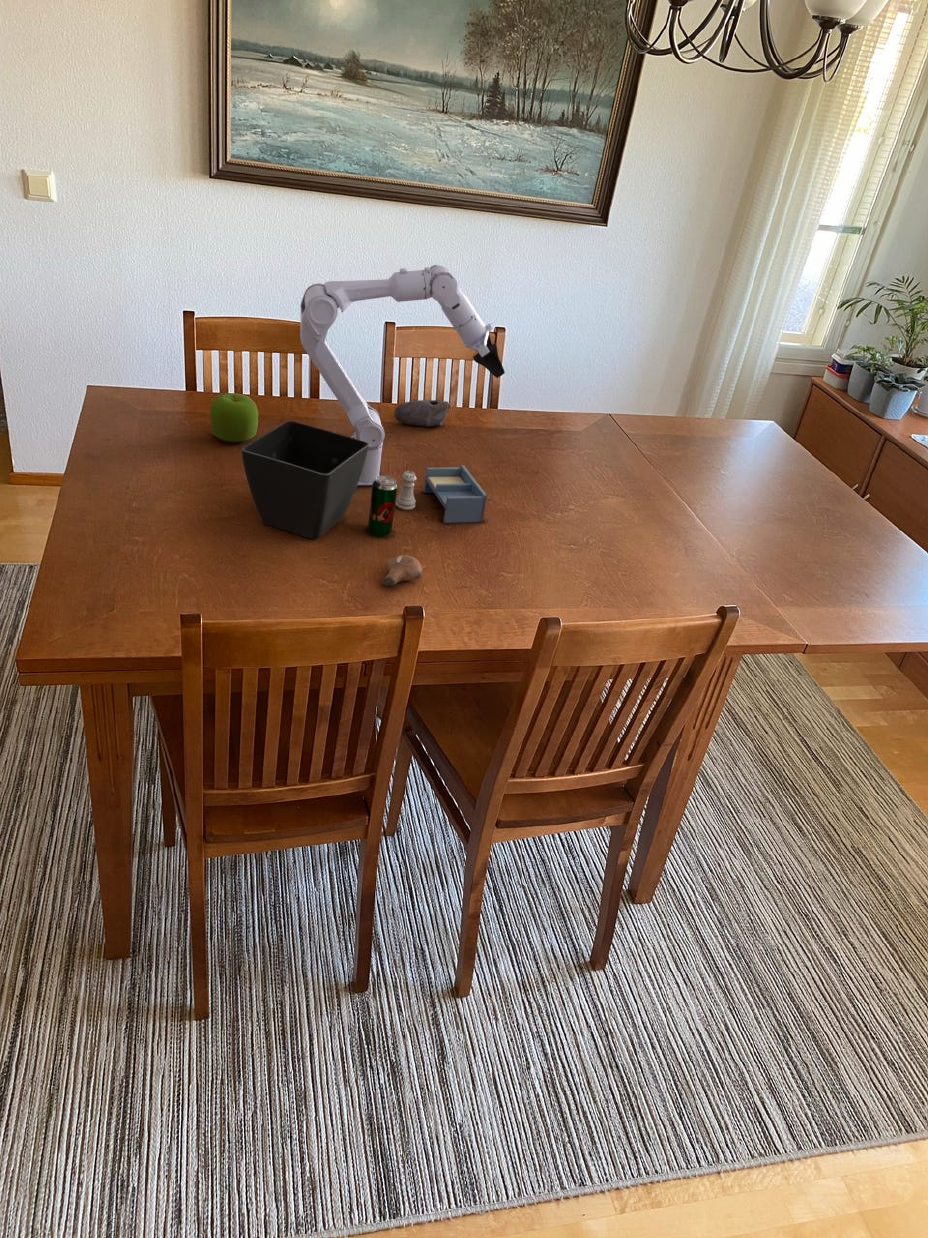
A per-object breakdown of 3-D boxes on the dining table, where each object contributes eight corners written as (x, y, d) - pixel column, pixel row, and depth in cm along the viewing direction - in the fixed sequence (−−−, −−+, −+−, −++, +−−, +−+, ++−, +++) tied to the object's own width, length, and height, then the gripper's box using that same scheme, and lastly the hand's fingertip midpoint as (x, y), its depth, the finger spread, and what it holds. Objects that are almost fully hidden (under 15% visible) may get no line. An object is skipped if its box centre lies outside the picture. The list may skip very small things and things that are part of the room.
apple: (251, 450, 208) (252, 406, 202) (205, 443, 208) (205, 399, 202) (261, 432, 218) (263, 389, 212) (217, 425, 217) (217, 382, 211)
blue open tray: (444, 522, 194) (448, 496, 190) (423, 491, 205) (427, 465, 201) (482, 521, 197) (487, 495, 193) (459, 490, 208) (463, 465, 205)
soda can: (395, 531, 187) (402, 479, 180) (384, 540, 183) (390, 488, 176) (375, 523, 188) (380, 472, 182) (362, 532, 184) (368, 480, 178)
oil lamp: (371, 572, 174) (385, 595, 168) (371, 555, 171) (384, 577, 165) (414, 564, 177) (429, 586, 171) (414, 547, 174) (429, 568, 168)
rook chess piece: (406, 512, 195) (410, 479, 190) (391, 505, 197) (395, 472, 192) (419, 507, 198) (424, 474, 194) (404, 499, 200) (408, 467, 196)
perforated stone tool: (393, 426, 234) (396, 401, 230) (391, 419, 238) (394, 394, 234) (449, 431, 237) (453, 406, 234) (446, 423, 242) (450, 398, 238)
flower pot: (237, 524, 179) (238, 447, 170) (285, 490, 194) (288, 417, 185) (321, 553, 175) (327, 475, 166) (363, 516, 190) (371, 443, 181)
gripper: (485, 319, 182) (519, 370, 190) (474, 296, 194) (506, 346, 202) (457, 339, 184) (491, 389, 192) (447, 315, 195) (480, 364, 203)
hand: (497, 368), depth 197 cm, fingers open, 7 cm apart
